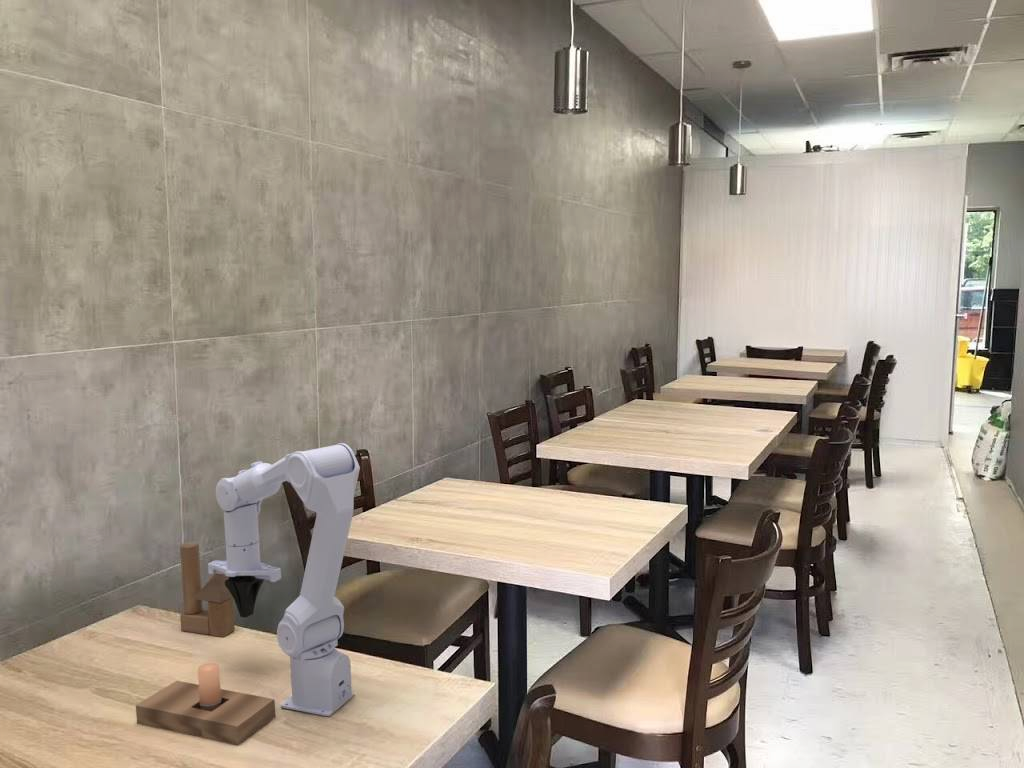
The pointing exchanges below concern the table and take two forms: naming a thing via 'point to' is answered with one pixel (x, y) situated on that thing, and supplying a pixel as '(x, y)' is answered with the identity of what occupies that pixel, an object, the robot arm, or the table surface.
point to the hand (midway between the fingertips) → (246, 615)
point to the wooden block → (204, 597)
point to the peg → (209, 686)
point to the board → (206, 713)
